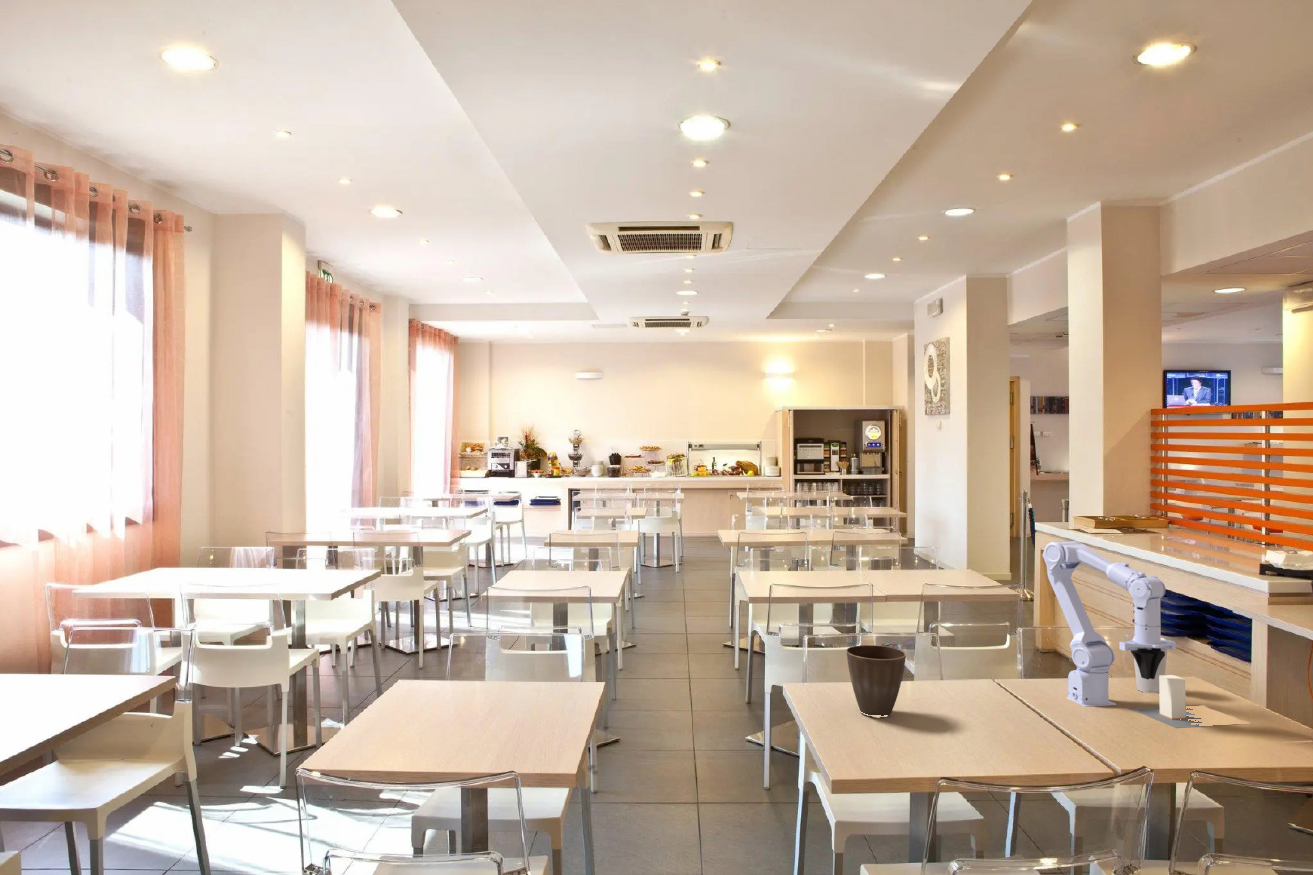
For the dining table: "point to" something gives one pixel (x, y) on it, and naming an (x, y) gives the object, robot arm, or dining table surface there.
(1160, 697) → the block
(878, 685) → the plant pot
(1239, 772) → the dining table surface
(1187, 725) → the mat
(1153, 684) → the coffee cup
